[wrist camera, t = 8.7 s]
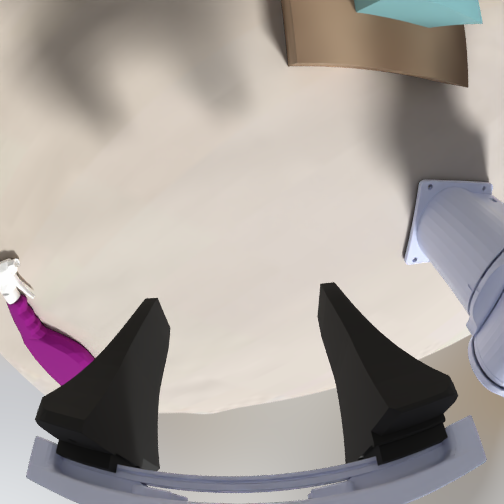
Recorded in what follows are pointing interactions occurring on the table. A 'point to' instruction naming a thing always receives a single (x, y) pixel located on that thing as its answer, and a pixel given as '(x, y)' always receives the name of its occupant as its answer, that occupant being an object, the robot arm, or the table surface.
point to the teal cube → (424, 11)
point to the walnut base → (372, 42)
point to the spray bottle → (41, 330)
